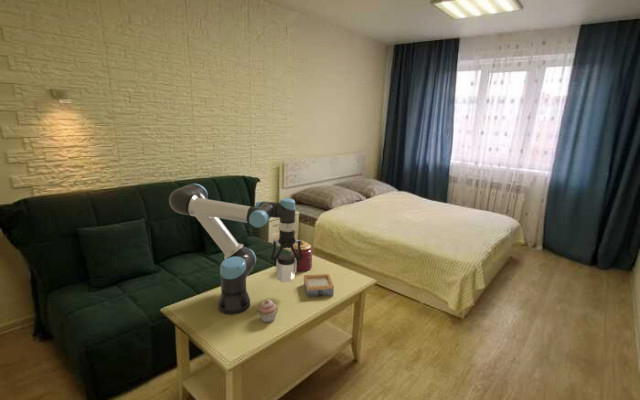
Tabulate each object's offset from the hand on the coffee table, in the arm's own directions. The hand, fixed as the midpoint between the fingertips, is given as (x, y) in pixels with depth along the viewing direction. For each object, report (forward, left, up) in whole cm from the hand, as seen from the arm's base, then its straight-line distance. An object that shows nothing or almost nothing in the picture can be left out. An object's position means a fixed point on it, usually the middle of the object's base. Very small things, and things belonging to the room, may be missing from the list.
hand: (286, 271), depth 169 cm
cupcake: (-10, -20, -14) cm, 26 cm away
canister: (+11, +33, -14) cm, 37 cm away
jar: (0, 0, -4) cm, 4 cm away
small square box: (+17, +4, -13) cm, 22 cm away
